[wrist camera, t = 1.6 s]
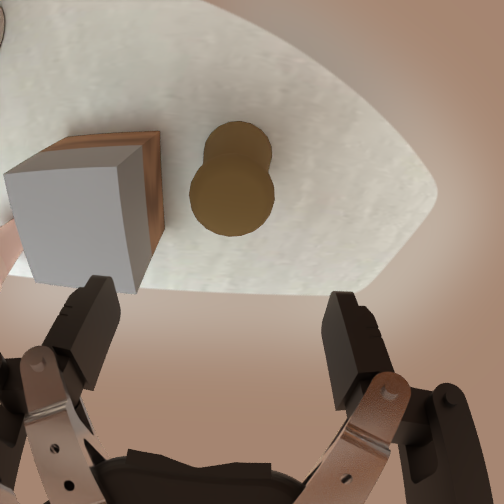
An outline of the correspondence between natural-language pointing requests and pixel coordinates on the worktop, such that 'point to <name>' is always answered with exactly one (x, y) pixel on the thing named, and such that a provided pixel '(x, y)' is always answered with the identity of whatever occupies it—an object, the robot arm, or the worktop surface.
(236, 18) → the worktop surface
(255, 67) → the worktop surface
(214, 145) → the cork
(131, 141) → the walnut base block
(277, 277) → the worktop surface
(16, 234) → the smoothie
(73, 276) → the slate top block
